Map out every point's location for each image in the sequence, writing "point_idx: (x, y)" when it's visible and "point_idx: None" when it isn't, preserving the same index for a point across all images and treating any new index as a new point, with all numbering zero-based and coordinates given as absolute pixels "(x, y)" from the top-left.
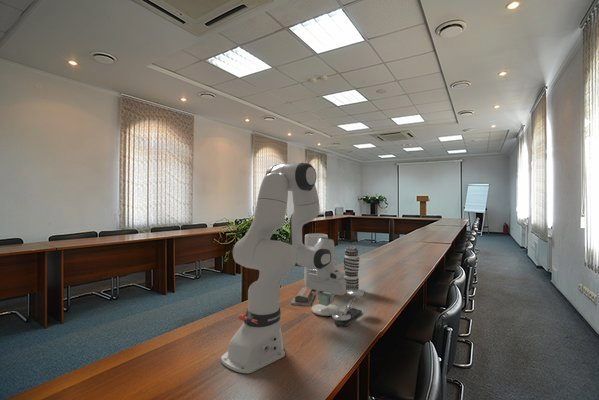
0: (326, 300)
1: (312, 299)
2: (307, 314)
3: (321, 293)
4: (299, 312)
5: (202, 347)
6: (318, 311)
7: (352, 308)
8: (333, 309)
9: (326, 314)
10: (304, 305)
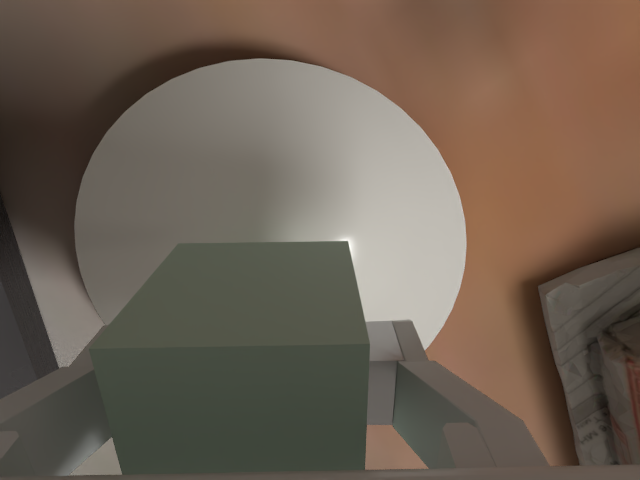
0: (160, 288)
1: (576, 436)
2: (436, 19)
3: (351, 433)
4: (582, 8)
5: None
6: (292, 117)
7: None
8: None
9: (137, 104)
10: (604, 261)
